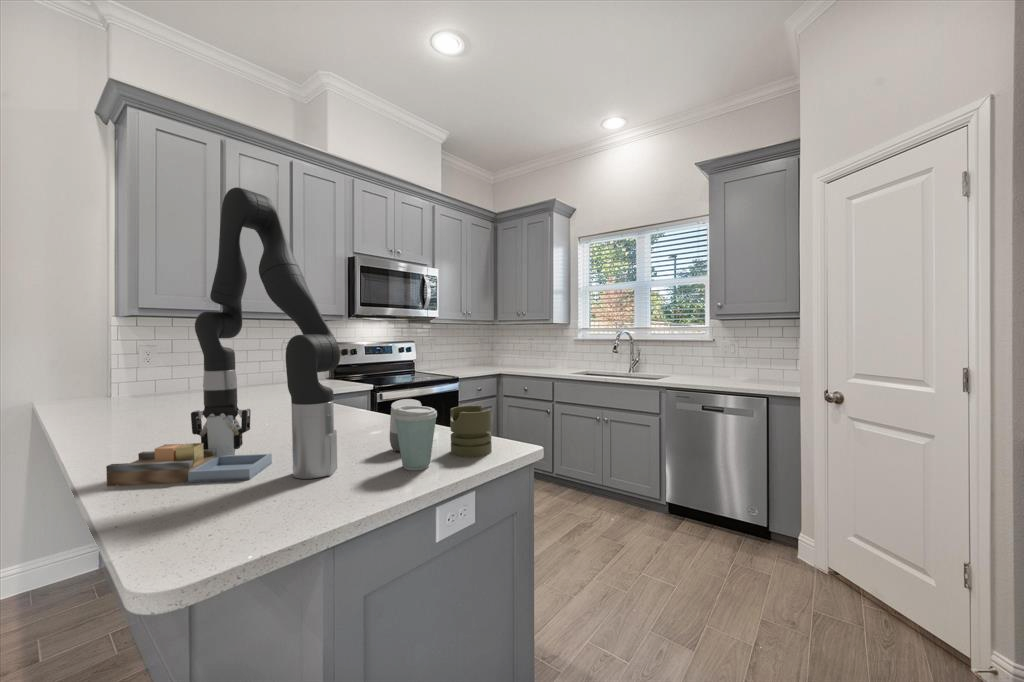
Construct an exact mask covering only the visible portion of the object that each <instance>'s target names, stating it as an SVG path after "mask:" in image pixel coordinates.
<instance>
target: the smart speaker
mask: <svg viewBox="0 0 1024 682" xmlns="http://www.w3.org/2000/svg"><path fill="white" fill-rule="evenodd" d="M399 406H423V405H422V403H421V401H420V400H417V399H412V398H405V399H399V400H395V401H394V402H392V403H391V405H390V407H391V408H390V419H389V420H390V421H389V443H390V447H391V449H392V450H393V451H395V452H397V453H400V447H399V441H398V434H397V428H396V422H395V418H394V414H395V412H396V408H397V407H399Z"/></svg>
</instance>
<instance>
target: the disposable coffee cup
mask: <svg viewBox="0 0 1024 682" xmlns="http://www.w3.org/2000/svg"><path fill="white" fill-rule="evenodd" d="M437 417H438V411H437V410H436V409H435V408H433V407H430V406H423V405H422V406H399V407H397V408H396V412H395V414H394V418H395V422H396V428H397V434H398V441H399V447H400V452H399V453H400V457H401V458H400V459H401V463H402V466H403V468H404V470H406V471H421V470H426V469H427V468H429V467H430V464H431V461H432V459H431V457H432V452H433V444H434V436H435V429H436V423H437V422H436V421H437Z"/></svg>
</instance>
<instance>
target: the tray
mask: <svg viewBox="0 0 1024 682" xmlns="http://www.w3.org/2000/svg"><path fill="white" fill-rule="evenodd" d="M272 464H273V455H272V453H260V454H258V453H256V454H255V453H254V454H253V453H252V454H238V455H237V454H236V455H230V456H217V457H215V458H213V459H211V460H209V461H207V462H206V463H204V464H202V465H200V466H198V467H196V468H194V469H192V470H191V471H189V472H188V482H187V483H189V484H190V483H191V484H193V483H209V482H211V483H212V482H231V481H233V482H234V481H248V480H249V481H251V480H252V478H254V477H256V476H257V475H258V474H259V473H261V472H262V471H263V470H265V469H267V467H269V466H270V465H272Z"/></svg>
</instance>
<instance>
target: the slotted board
mask: <svg viewBox="0 0 1024 682" xmlns="http://www.w3.org/2000/svg"><path fill="white" fill-rule="evenodd" d="M203 452H204V459H203V460H201V461H199V462H197V463H196V464H193V460H191V461H169V462H155V450H154V451H141V452H139V453H138V455H137V456H138V459H137V460H134V461H132V462H128V463H127V462H126V463H125V462H124V463H123V462H122V463H111V464H108V465H106V466H105V467H106V468H105V469H106V487H114V486H115V487H117V486H116V485H121V486H134V485H135V486H136V485H137V486H138V485H156V484H157V485H159V484H160V485H161V484H177V483H178V484H179V483H181V484H182V483H188V472H189V471H191V470H192V469H194V468H196V467H198V466H200V465H202V464H204V463H206V462H207V461H209V460H211V459H213V458H215V457H217V453H216V449H203Z"/></svg>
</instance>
